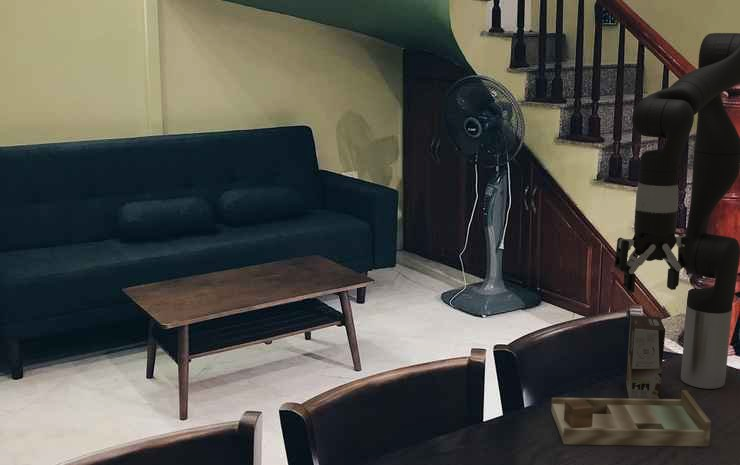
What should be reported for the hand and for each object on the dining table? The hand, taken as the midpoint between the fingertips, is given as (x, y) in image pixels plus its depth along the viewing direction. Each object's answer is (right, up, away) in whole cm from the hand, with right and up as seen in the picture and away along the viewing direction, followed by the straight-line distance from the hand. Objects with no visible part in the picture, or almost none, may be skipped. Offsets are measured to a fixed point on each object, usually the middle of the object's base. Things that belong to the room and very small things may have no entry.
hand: (650, 290), depth 167 cm
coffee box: (+5, -24, +21) cm, 32 cm away
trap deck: (-4, -27, +5) cm, 28 cm away
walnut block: (-13, -26, +3) cm, 29 cm away
